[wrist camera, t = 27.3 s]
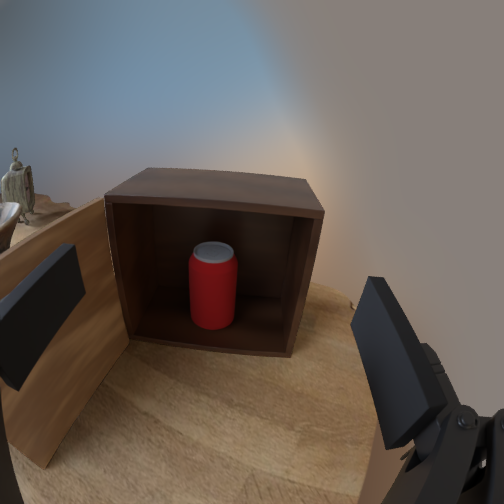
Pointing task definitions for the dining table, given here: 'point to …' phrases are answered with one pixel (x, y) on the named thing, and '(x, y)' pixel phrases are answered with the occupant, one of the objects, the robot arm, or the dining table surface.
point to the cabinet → (214, 230)
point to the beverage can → (212, 285)
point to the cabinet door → (64, 334)
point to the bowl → (8, 223)
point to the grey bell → (19, 187)
